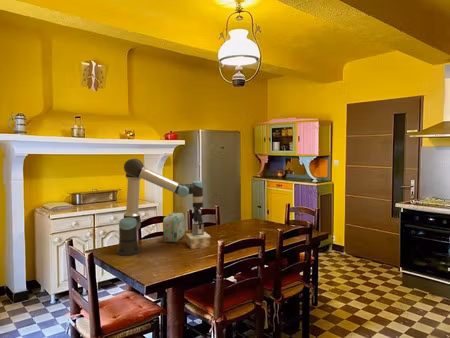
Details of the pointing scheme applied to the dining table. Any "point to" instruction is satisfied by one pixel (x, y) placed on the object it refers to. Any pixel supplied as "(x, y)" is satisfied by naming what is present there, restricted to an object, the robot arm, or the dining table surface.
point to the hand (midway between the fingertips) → (197, 231)
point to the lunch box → (173, 227)
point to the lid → (195, 233)
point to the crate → (198, 243)
